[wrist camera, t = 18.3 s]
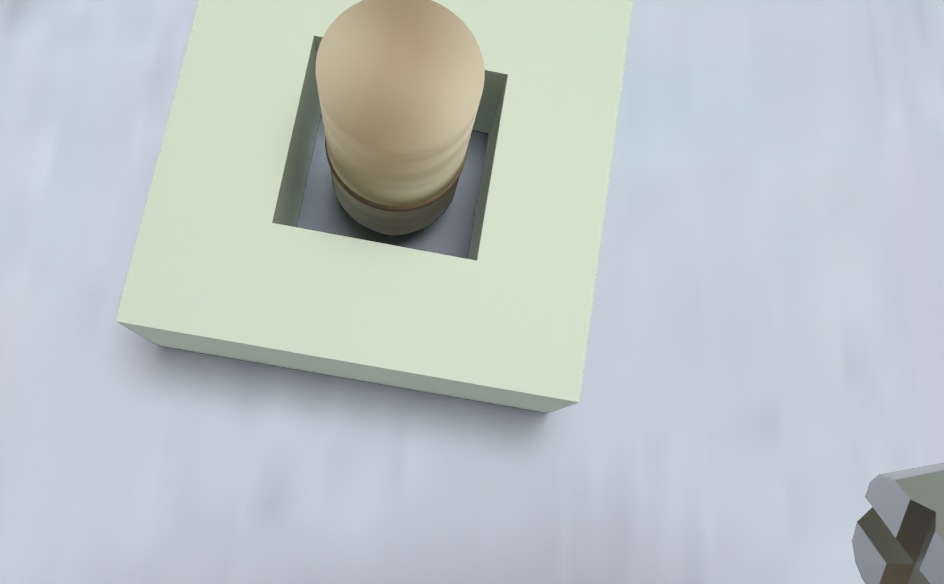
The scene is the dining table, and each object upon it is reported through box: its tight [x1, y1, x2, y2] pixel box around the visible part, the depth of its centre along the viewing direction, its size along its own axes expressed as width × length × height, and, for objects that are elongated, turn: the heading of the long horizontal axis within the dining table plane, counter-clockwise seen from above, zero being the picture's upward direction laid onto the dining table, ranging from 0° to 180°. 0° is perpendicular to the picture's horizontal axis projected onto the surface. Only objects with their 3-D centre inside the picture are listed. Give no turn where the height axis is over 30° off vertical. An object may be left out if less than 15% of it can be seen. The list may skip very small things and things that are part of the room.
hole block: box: [116, 0, 633, 413], centre depth 29 cm, size 14×14×5 cm
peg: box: [316, 0, 485, 236], centre depth 27 cm, size 4×4×10 cm
